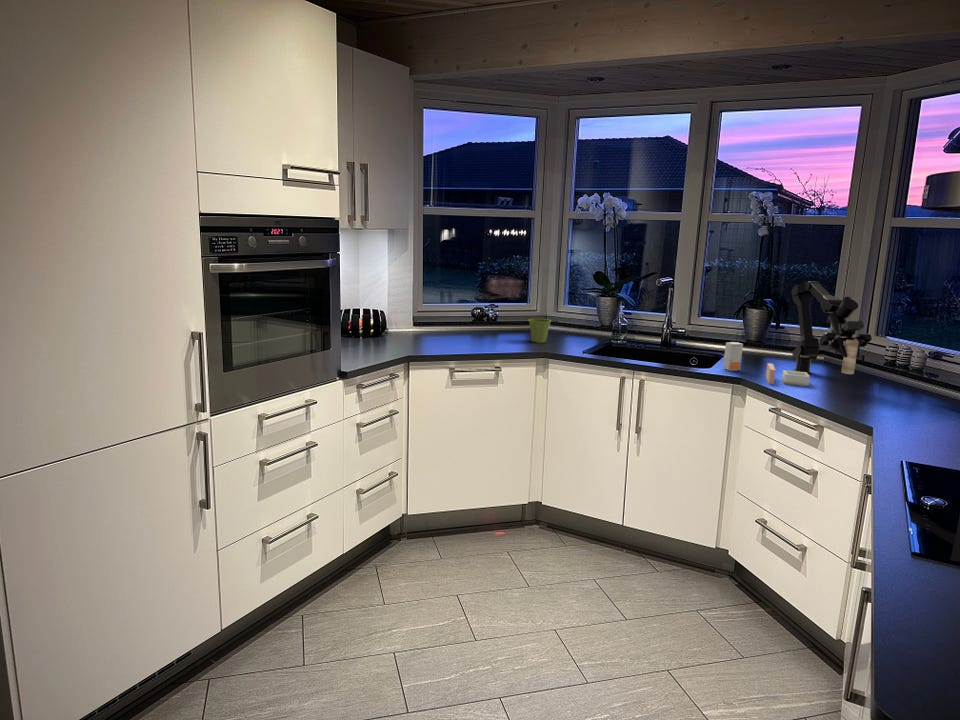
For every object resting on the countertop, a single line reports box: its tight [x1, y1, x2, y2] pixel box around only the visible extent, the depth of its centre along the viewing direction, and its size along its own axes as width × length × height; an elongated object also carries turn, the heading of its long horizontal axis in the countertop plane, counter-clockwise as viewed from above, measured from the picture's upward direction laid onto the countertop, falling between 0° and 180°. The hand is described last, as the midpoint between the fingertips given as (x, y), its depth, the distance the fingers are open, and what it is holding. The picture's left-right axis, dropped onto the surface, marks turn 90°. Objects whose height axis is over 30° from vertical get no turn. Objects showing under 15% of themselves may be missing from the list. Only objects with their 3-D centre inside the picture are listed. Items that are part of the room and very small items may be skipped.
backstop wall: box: [765, 362, 777, 385], centre depth 278 cm, size 14×2×6 cm, turn 161°
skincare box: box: [722, 341, 744, 371], centre depth 296 cm, size 6×4×12 cm
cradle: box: [781, 369, 811, 387], centre depth 275 cm, size 9×9×4 cm
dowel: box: [840, 340, 859, 375], centre depth 265 cm, size 4×4×13 cm
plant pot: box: [527, 318, 552, 344], centre depth 346 cm, size 12×12×11 cm
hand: (852, 357), depth 264 cm, fingers closed on dowel, 4 cm apart
